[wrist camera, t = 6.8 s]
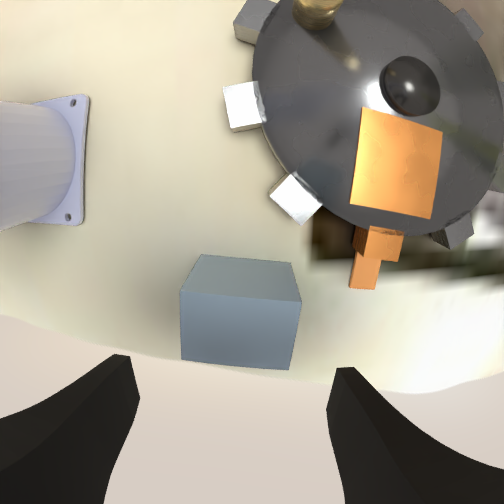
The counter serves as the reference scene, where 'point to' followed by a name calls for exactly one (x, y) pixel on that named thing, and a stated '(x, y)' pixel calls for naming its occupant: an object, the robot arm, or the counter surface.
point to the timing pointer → (364, 272)
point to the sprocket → (374, 114)
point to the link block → (239, 312)
